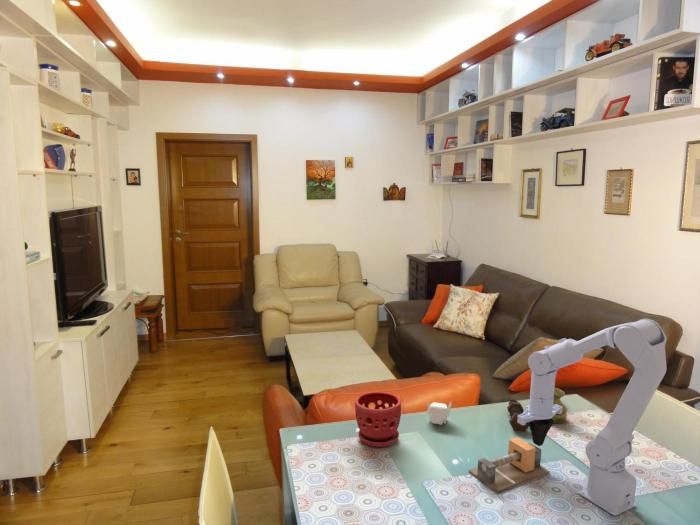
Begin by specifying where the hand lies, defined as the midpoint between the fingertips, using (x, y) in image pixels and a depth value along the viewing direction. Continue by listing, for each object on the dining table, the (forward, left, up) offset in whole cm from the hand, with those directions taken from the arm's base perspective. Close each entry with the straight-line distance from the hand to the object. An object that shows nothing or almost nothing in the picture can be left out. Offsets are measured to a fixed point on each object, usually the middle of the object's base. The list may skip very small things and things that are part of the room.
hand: (537, 443), depth 132 cm
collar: (0, +6, -5) cm, 8 cm away
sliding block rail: (0, +10, -5) cm, 11 cm away
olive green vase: (+15, -25, -6) cm, 30 cm away
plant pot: (+30, +31, -6) cm, 43 cm away
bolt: (+20, -14, -6) cm, 25 cm away
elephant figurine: (+30, +9, -6) cm, 32 cm away
